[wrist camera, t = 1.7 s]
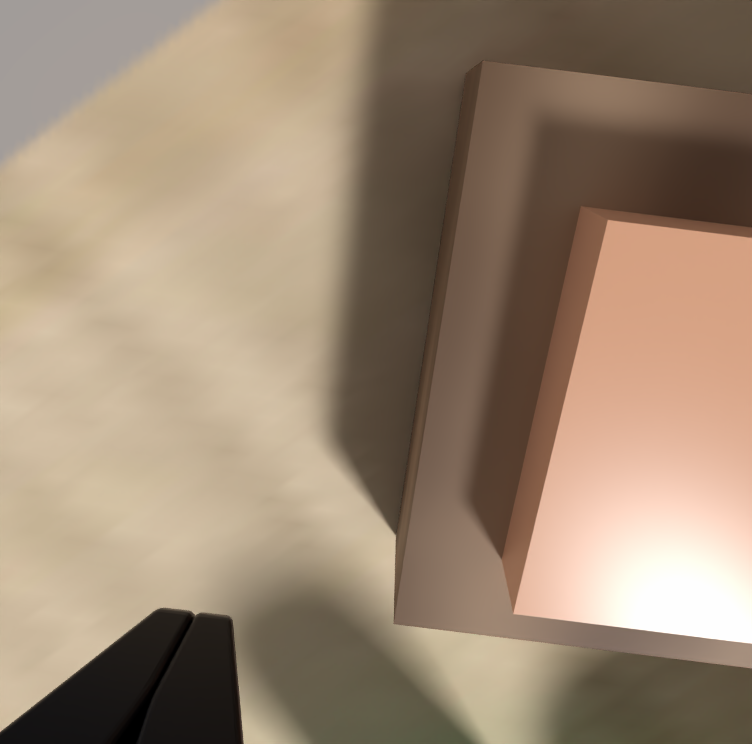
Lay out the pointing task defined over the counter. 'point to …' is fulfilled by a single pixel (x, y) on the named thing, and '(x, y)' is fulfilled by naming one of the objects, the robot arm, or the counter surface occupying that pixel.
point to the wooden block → (538, 315)
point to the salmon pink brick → (643, 435)
